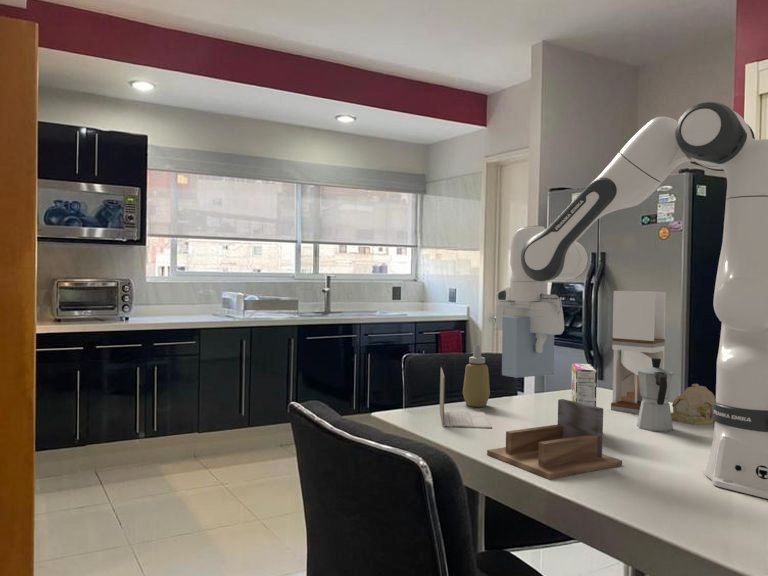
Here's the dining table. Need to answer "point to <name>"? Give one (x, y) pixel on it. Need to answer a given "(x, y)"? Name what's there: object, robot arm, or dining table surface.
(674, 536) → the dining table surface
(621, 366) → the white coffee grinder
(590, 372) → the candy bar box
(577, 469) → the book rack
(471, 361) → the squeeze bottle
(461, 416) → the laptop
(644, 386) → the coffee maker
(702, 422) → the ceramic model
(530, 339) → the book
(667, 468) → the dining table surface
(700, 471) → the dining table surface
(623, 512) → the dining table surface
